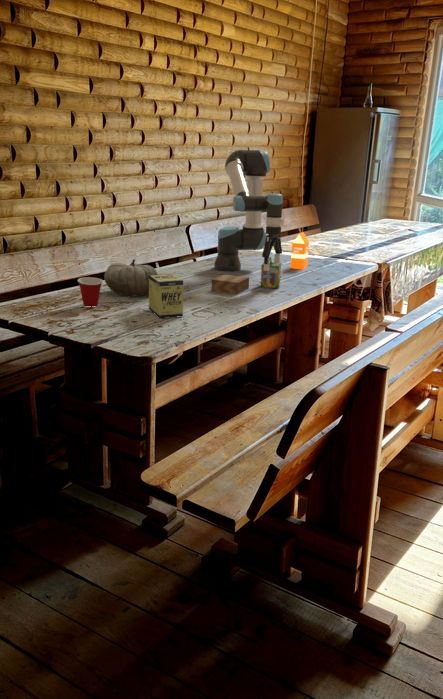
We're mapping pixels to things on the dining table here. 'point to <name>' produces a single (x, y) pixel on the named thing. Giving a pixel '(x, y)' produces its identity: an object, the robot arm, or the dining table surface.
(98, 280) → the plastic cup
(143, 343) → the dining table surface
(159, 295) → the protein box
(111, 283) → the gourd
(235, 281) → the walnut block
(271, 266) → the chalk box
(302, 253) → the orange juice
